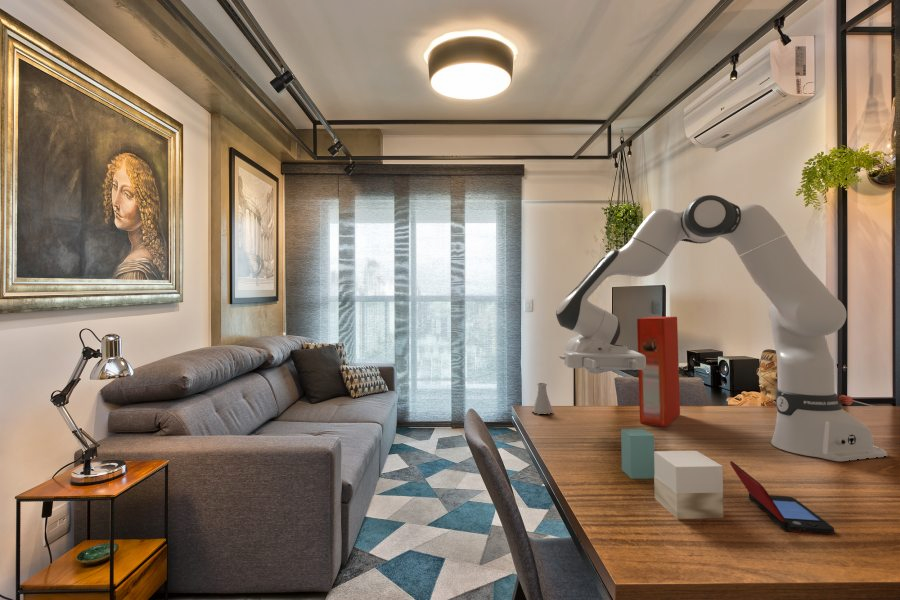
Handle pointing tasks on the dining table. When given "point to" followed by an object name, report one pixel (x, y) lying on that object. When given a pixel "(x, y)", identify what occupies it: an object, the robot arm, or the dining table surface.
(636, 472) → the teal pillar
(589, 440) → the dining table surface
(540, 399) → the flask
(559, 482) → the dining table surface
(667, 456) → the tower top
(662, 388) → the file binder
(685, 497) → the tower base
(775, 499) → the handheld game console
